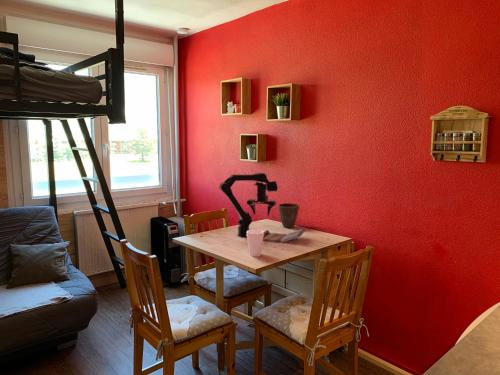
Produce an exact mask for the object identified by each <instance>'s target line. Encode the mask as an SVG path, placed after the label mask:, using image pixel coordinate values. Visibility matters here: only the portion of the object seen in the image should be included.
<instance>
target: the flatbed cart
mask: <svg viewBox="0 0 500 375" xmlns="http://www.w3.org/2000/svg"><path fill="white" fill-rule="evenodd" d="M286 234H287V233H279V232H278V233H276V232H270V230H269V229H267V230H265V231H264V236H263V242H269V243H279V244H280V243H281V241H280V240H281V239H282V238H283V237H284V236H285V235H286Z"/></svg>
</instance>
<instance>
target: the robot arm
mask: <svg viewBox="0 0 500 375" xmlns="http://www.w3.org/2000/svg"><path fill="white" fill-rule="evenodd" d="M267 176H268V175H267V174H266V173H263V172H256V173H253V174H252V173H251V174H234V173H233V174H230V176H229V177H228V178H227V179H225V180H224V181H223V182H221V183H220V184H219V188H218V189H220V191H221V192H222V194H224V195H225V196H226V197H227V198H228V200H229V201H230V203H231V205H232V206H233V207H234V209H235V210H236V212H237V214H238V217H239V220H238V221H237V225H238V227H237V228H238V229H237V233H238V234H237V235H238V236H237V237H240V238H247V231H248V230H250V225H251V224H252V222H253V220H252V218H253V217H252V216H251V215H250V213H249V211H247V210H244V208H243V207H242V205H241V204H240V203H239V202H238V199H237V198H236V197H235V195H234V194H233V190H232V188H231V187H232V186H234V184H235V182H239V181H240V182H241V181H246V182H247V181H254V182H255V183H253V186H256V199H253V198H250V199H247V201H246V205H248V206H249V207H250V208H251V211H252V214H253V215H254V216H256V212H257V211H256V204H258V205H267V211H266V212H267V213H266V214H267V217H269V216H270V212H271V210H272V208H273V207H275V206H276V205H277V201H276V200H273V199H272V200H271V199H270V200H269V196H268V195H267V192H269V193H270V192H278V184H277V181H276V180H273V181H270V180H269V179H268V178H267Z"/></svg>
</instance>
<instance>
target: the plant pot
mask: <svg viewBox="0 0 500 375" xmlns="http://www.w3.org/2000/svg"><path fill="white" fill-rule="evenodd" d="M299 209H300V205H299V204H297V203H291V202H289V203H287V202H286V203H279V204H278V212H279V217H280V218H279V219H280V222H281V225H282V226H283V228H285V229H293V228H294V227H295V224H296V222H297V218H298V214H299Z"/></svg>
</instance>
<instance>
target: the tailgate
mask: <svg viewBox="0 0 500 375" xmlns="http://www.w3.org/2000/svg"><path fill="white" fill-rule="evenodd" d="M305 232H306V230H305V228H304V227H303V228H301V229H298V230H295V231H292V232H289V233H285V234H286V235H285V236H284V237H283V238H282V239H281V240H280V241H281V242H280V243H285V242H287V241H290V240H294V239H296V238H297V239H298V238H300V237H301V236H302V235H303V234H304V233H305Z"/></svg>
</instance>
